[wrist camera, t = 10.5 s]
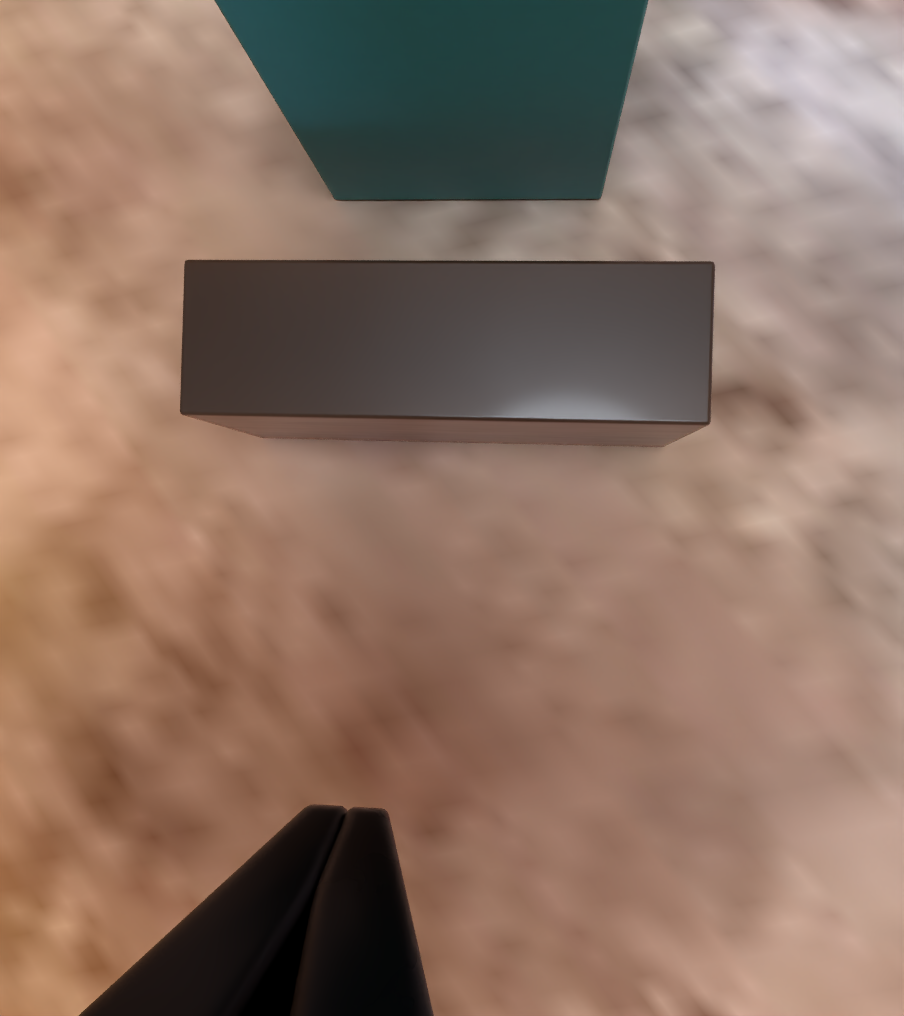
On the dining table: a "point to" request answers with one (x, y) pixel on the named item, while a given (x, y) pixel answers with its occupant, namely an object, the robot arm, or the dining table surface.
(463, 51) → the plastic bottle
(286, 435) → the walnut block
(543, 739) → the dining table surface
